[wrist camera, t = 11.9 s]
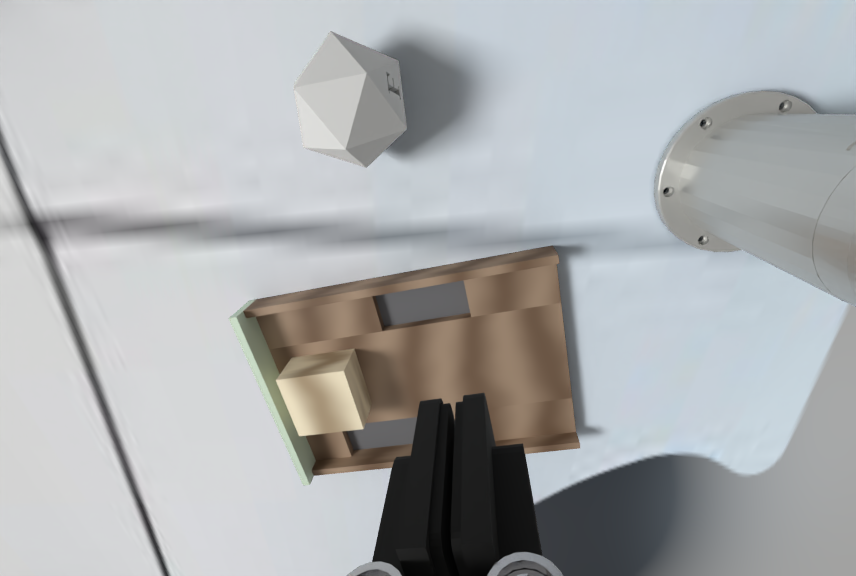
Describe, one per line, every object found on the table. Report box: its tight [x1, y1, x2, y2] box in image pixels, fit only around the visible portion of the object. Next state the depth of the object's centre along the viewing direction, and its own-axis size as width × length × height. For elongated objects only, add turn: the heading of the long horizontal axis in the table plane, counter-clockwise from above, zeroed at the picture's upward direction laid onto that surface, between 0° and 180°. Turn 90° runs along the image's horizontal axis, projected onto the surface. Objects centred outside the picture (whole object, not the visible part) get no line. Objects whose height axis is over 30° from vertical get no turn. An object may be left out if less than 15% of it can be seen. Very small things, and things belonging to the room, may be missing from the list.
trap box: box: [243, 246, 580, 476], centre depth 43 cm, size 30×22×3 cm
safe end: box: [229, 300, 316, 485], centre depth 45 cm, size 1×22×4 cm, turn 12°
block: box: [276, 349, 372, 436], centre depth 43 cm, size 7×7×4 cm
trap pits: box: [347, 280, 470, 450], centre depth 45 cm, size 17×20×1 cm
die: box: [294, 31, 407, 168], centre depth 31 cm, size 8×9×10 cm
